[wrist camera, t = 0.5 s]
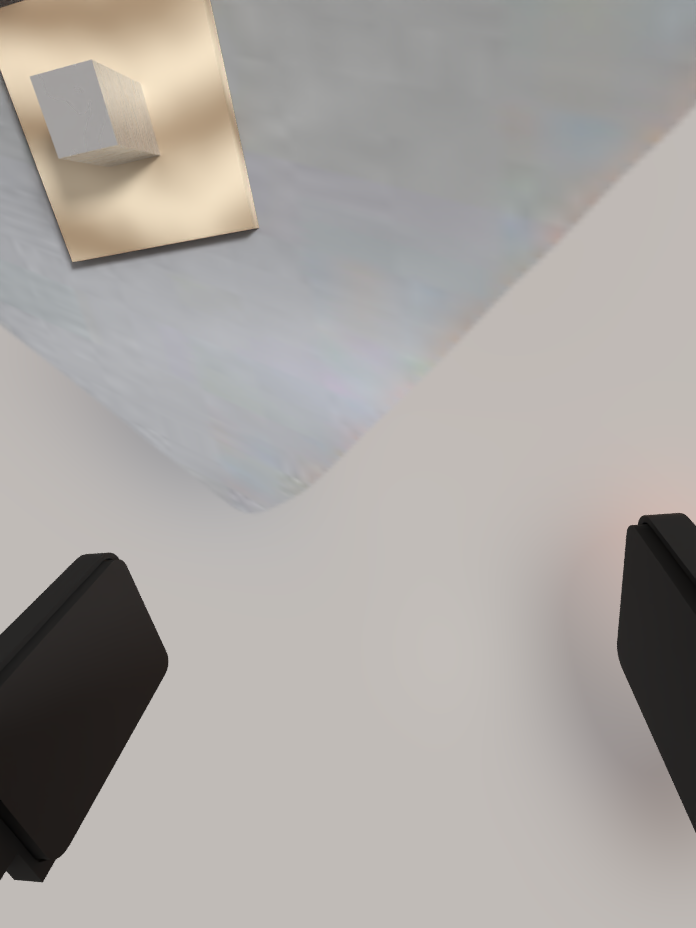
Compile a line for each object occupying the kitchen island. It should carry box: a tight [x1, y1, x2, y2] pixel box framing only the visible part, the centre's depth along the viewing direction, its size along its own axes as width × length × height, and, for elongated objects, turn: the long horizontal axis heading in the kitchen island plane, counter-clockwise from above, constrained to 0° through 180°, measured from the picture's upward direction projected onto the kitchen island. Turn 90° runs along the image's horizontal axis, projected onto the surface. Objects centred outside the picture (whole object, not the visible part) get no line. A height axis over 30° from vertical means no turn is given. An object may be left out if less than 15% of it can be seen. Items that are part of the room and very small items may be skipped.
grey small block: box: [30, 59, 160, 167], centre depth 29 cm, size 4×4×5 cm
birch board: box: [0, 0, 259, 262], centre depth 31 cm, size 14×14×1 cm
